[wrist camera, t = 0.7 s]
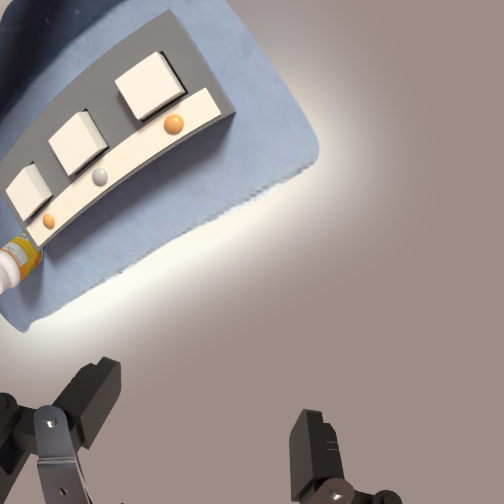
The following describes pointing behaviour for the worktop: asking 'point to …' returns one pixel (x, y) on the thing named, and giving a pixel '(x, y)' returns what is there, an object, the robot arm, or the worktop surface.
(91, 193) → the button board
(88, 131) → the middle key
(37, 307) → the worktop surface
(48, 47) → the worktop surface
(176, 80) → the near key
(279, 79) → the worktop surface
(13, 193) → the far key
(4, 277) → the supplement bottle
